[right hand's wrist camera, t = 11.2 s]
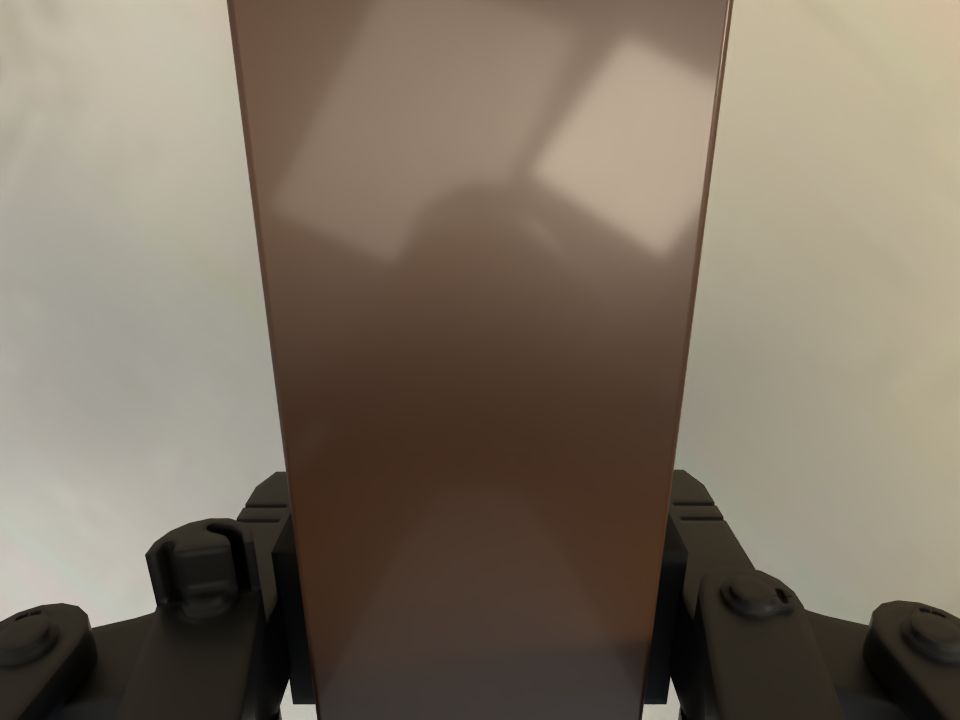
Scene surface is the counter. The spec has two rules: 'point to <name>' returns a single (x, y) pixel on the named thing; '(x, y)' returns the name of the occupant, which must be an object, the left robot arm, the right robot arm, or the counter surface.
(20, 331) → the counter surface
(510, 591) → the plank
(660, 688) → the right robot arm
